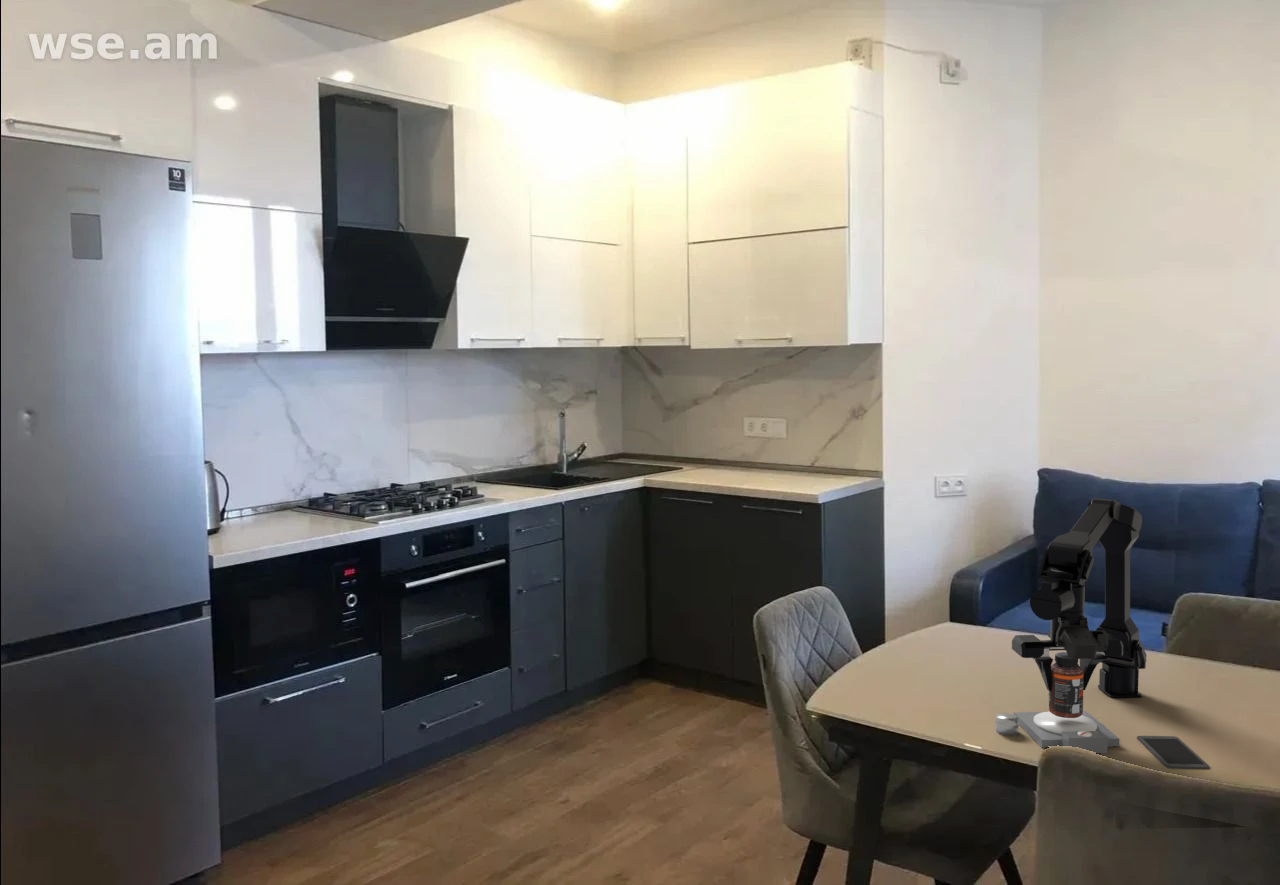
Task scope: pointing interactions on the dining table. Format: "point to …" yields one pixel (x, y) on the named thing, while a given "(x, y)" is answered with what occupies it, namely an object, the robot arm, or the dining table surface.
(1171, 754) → the cell phone
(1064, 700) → the supplement bottle
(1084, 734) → the scale
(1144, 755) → the dining table surface
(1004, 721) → the shiny metal cylinder
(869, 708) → the dining table surface
